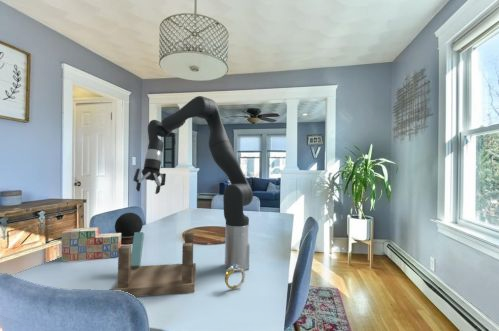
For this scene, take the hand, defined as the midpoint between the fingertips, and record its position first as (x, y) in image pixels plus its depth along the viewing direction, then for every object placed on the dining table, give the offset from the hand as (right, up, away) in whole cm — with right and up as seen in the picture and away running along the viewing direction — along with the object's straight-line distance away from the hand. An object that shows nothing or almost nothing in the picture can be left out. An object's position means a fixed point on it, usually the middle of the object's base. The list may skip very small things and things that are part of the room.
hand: (147, 192), depth 123 cm
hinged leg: (+7, -24, -30) cm, 39 cm away
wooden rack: (+18, -27, -35) cm, 47 cm away
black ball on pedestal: (-14, -27, +11) cm, 33 cm away
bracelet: (+44, -28, -39) cm, 65 cm away
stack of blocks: (-19, -27, -12) cm, 35 cm away
